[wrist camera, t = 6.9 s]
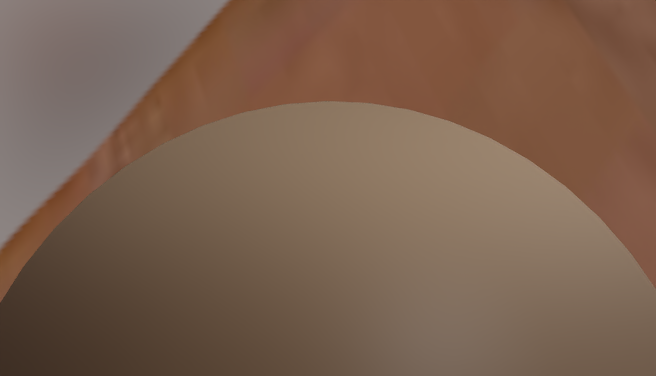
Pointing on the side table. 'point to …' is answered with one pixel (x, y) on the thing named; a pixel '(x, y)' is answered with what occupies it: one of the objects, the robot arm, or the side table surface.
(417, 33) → the side table surface
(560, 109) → the side table surface
